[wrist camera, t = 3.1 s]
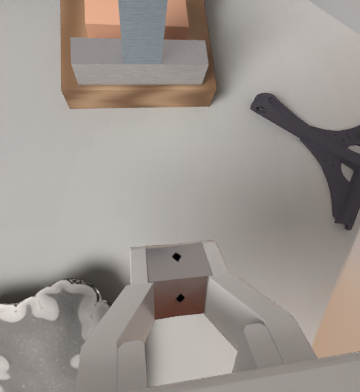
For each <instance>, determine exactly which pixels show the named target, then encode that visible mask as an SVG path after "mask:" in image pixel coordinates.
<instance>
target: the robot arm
mask: <svg viewBox="0 0 360 392" xmlns="http://www.w3.org/2000/svg"><path fill="white" fill-rule="evenodd" d="M130 281H131V285H126V286H125V288H124V289H123V290H122V292H121V293H120V295H119V296H118V297H117V299H116V300H115V301H114V303H113V304H112V305H111V307H110V308H109V310H108V311H107V312H106V314H105V315H104V316H103V318H102V319H101V321H100V322H99V323H98V325H97V326H96V327H95V329H94V330H93V332H92V333H91V334H90V336H89V337H88V338H87V340H86V341H85V343H84V344H83V345H82V347H81V352H80V360H79V367H78V374H77V381H76V388H75V392H360V351H358V352H353V353H347V354H341V355H335V356H330V357H324V358H317V356H316V355H315V353H314V351H313V349H312V348H311V346H310V344H309V342H308V341H307V339H306V337H305V335H304V333H303V332H302V330H301V328H300V326H299V325H298V323H297V321H296V319H295V318H294V317H293V316H292V315H291V314H289V313H288V312H286V311H285V310H284V309H282V308H281V307H279V306H278V305H277V304H275V303H274V302H273V301H271V300H270V299H268V298H267V297H266V296H264V295H263V294H261V293H260V292H259V291H257V290H256V289H255V288H253V287H252V286H250V285H249V284H248V283H246V282H245V281H243V280H242V279H241V278H239V277H238V276H237V275H235V274H234V273H233V274H229V271H228V269H227V267H226V264H225V262H224V259H223V257H222V255H221V252H220V250H219V248H218V245H217V243H216V241H215V240H207V241H200V242H190V243H179V244H169V245H154V246H145V247H130ZM202 313H204V315H205V316H206V317H207V318H208V319H209V320H210V321H211V323H212V324H213V325H214V326H215V327H216V328H217V329H218V330H219V331H220V332H221V333H222V335H223V336H224V337H225V338H226V339H227V340H228V341H229V342H230V343H231V344H232V346H233V347H234V348H235V349H236V350H237V351H238V353H237V356H236V360H235V364H234V367H233V371H232V373H230V374H224V375H218V376H212V377H207V378H201V379H195V380H189V381H183V382H178V383H172V384H166V385H160V386H154V387H147V373H146V359H145V345H144V343H145V341H146V339H147V337H148V335H149V333H150V331H151V329H152V326H153V324H154V322H155V320H157V319H163V318H169V317H175V316H179V315H180V316H183V315H192V314H202Z"/></svg>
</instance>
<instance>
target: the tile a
mask: <svg viewBox="0 0 360 392" xmlns="http://www.w3.org/2000/svg"><path fill="white" fill-rule="evenodd" d="M84 2H85V25H86V29H87V34H88V38H120V39H121V29H120V18H119V6H118V0H84Z"/></svg>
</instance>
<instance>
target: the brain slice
mask: <svg viewBox="0 0 360 392" xmlns="http://www.w3.org/2000/svg"><path fill="white" fill-rule="evenodd" d="M110 307H111V305H110V303H109V302H107V301H106V300H103V299H102V297H101V294H100V293H99V291H98V290H97V288H96V287H94V286H93V285H92V284H90V283H89V282H87V281H85V280H77V279H72V278H71V279H63V280H59V281H58V282H56V283H55V284H54V285H50V286H47V287H45V288H44V289H42V290H40V291H39V292H38V293H37V294H35V295H33V296H31V297H29V298H27V299H25V300H23V301H21V302H18V303H5V304H0V392H75V388H76V381H77V374H78V367H79V360H80V352H81V347H82V345H83V344H84V343H85V341H86V340H87V338H88V337H89V336H90V334H91V333H92V332H93V330H94V329H95V327H96V326H97V325H98V323H99V322H100V321H101V319H102V318H103V316H104V315H105V314H106V312H107V311H108V310H109V308H110Z"/></svg>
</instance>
